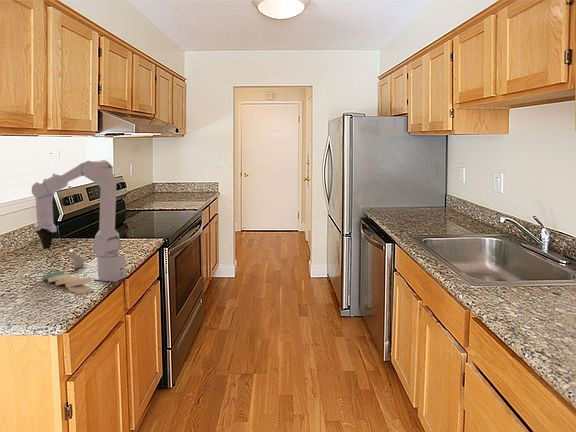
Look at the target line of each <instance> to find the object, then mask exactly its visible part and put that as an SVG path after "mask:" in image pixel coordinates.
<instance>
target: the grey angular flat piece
mask: <svg viewBox="0 0 576 432" xmlns="http://www.w3.org/2000/svg"><path fill="white" fill-rule="evenodd" d="M68 253H69V256H70V259H71V260H73V268H74V269H80V268H82V267H84V256H83V255H81V253H76V250H75V249H70V250H69V251H68Z"/></svg>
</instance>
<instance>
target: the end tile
mask: <svg viewBox="0 0 576 432" xmlns="http://www.w3.org/2000/svg"><path fill="white" fill-rule="evenodd" d="M59 275H65V271H64V270H61V271H54V272H50V273H47V274H43V275H42V280H43V281H44V280H48V278H51V277H54V276H59Z"/></svg>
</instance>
